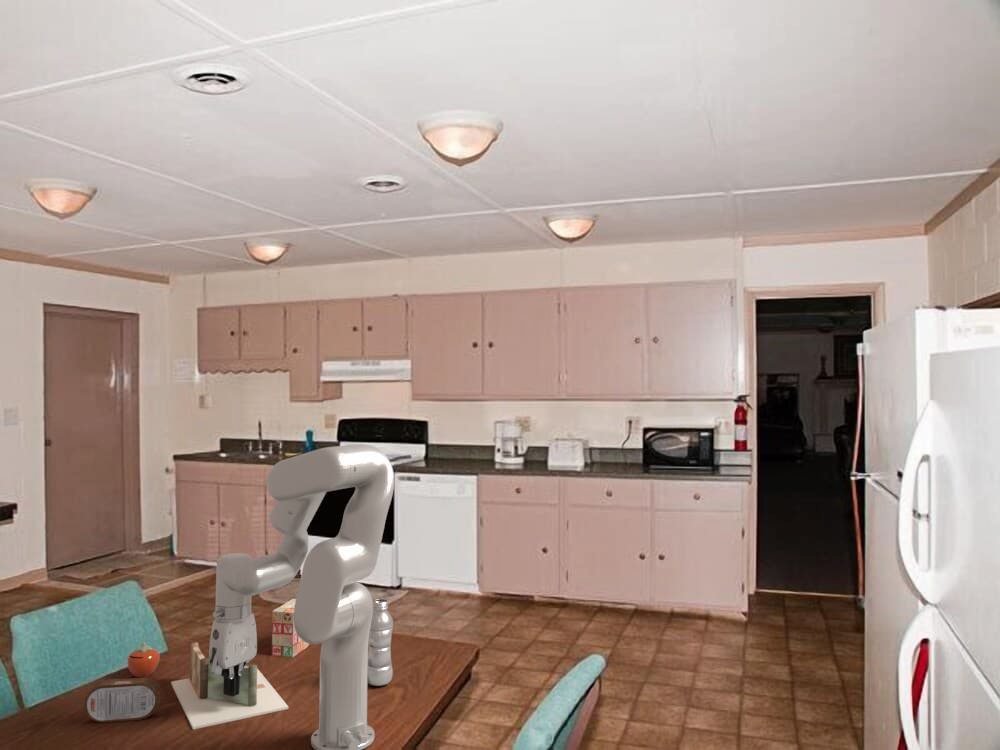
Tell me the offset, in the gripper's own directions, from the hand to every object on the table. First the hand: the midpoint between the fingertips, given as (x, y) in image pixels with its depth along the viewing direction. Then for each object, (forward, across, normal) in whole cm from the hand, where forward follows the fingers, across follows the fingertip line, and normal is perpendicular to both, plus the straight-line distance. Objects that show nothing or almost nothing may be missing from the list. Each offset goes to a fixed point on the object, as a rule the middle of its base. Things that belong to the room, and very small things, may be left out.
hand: (231, 694), depth 165 cm
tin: (+4, -14, +17) cm, 23 cm away
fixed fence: (+4, +5, +16) cm, 17 cm away
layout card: (+4, +6, +8) cm, 10 cm away
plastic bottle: (+4, +28, -19) cm, 35 cm away
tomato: (+4, +6, +36) cm, 37 cm away
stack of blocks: (+4, +42, +18) cm, 46 cm away
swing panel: (+3, +3, +3) cm, 5 cm away
